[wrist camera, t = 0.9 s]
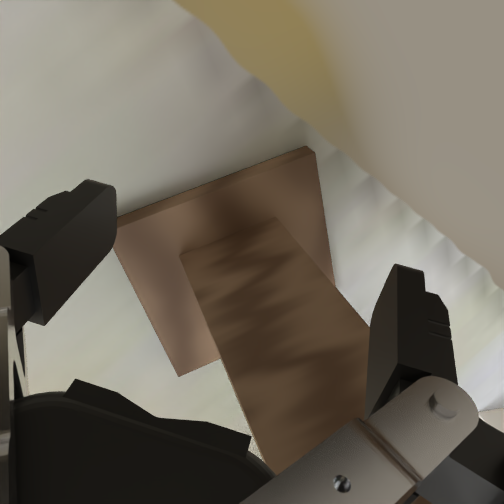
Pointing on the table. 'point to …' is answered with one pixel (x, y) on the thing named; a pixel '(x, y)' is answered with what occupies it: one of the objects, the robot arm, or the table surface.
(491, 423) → the block
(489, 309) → the table surface
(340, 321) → the walnut stand
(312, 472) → the robot arm
